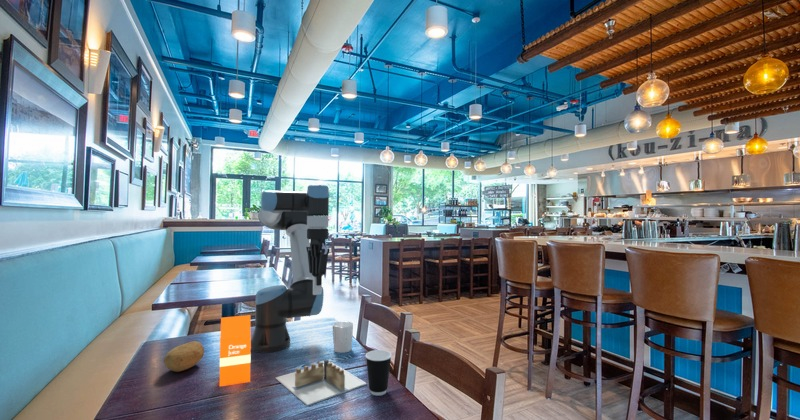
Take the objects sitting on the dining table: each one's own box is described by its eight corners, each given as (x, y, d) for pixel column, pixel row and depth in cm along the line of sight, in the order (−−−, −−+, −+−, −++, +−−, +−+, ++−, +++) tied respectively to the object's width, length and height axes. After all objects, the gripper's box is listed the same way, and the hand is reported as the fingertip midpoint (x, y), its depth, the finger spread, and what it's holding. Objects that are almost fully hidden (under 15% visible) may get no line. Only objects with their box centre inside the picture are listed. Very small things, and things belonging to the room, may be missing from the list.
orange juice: (220, 376, 119) (221, 314, 119) (249, 372, 122) (250, 312, 123) (219, 386, 112) (220, 321, 112) (250, 381, 115) (251, 318, 116)
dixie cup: (359, 391, 110) (359, 354, 110) (379, 383, 115) (380, 347, 115) (376, 401, 104) (376, 362, 104) (397, 392, 109) (397, 355, 110)
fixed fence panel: (323, 379, 117) (323, 360, 117) (326, 378, 118) (327, 359, 118) (340, 391, 109) (341, 371, 109) (344, 390, 110) (345, 370, 110)
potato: (153, 376, 119) (154, 351, 119) (187, 359, 132) (187, 337, 132) (179, 379, 116) (179, 354, 117) (211, 362, 130) (211, 339, 130)
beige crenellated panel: (321, 377, 117) (322, 361, 117) (323, 379, 116) (323, 362, 116) (295, 385, 111) (295, 368, 111) (296, 387, 110) (296, 370, 110)
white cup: (348, 354, 139) (349, 327, 139) (329, 352, 140) (329, 326, 140) (355, 347, 146) (355, 321, 147) (336, 345, 148) (337, 320, 148)
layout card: (275, 378, 118) (275, 377, 118) (330, 362, 131) (330, 361, 131) (307, 406, 101) (307, 404, 101) (366, 384, 114) (366, 383, 114)
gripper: (336, 228, 129) (335, 295, 128) (318, 227, 138) (317, 289, 138) (317, 228, 124) (316, 298, 123) (299, 227, 134) (299, 292, 133)
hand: (317, 294), depth 131 cm, fingers closed
